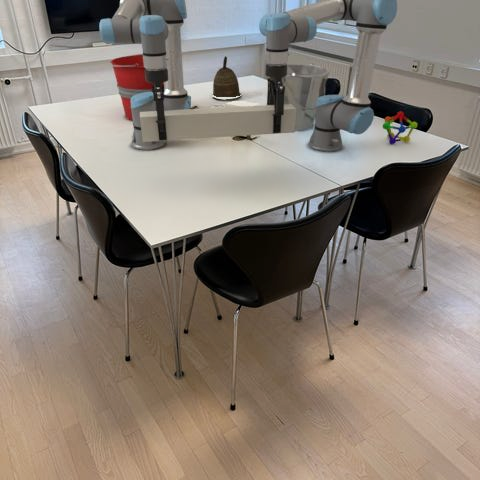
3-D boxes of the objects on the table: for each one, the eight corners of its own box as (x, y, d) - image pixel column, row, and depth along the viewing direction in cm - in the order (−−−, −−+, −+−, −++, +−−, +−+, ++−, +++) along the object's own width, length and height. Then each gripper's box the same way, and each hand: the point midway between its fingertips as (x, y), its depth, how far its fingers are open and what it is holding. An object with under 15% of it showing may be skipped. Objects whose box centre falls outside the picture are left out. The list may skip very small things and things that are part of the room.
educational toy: (377, 146, 209) (379, 114, 202) (384, 138, 219) (386, 107, 211) (411, 149, 202) (415, 116, 195) (417, 141, 212) (420, 109, 204)
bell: (227, 105, 294) (202, 96, 282) (238, 66, 289) (213, 55, 277) (243, 108, 280) (217, 98, 268) (255, 66, 275) (229, 55, 263)
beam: (142, 142, 154) (139, 117, 149) (142, 136, 159) (139, 111, 154) (294, 132, 163) (296, 108, 158) (289, 127, 168) (291, 103, 163)
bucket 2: (296, 138, 215) (301, 78, 201) (255, 124, 234) (256, 68, 219) (335, 125, 232) (342, 70, 217) (294, 113, 251) (297, 61, 236)
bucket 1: (124, 106, 262) (117, 51, 246) (183, 106, 262) (180, 52, 246) (108, 124, 233) (99, 63, 217) (174, 124, 232) (170, 64, 216)
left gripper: (169, 74, 138) (175, 145, 150) (165, 62, 153) (171, 127, 166) (144, 75, 136) (152, 147, 149) (143, 62, 152) (151, 128, 165)
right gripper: (295, 69, 144) (291, 137, 157) (279, 58, 160) (276, 121, 172) (273, 70, 143) (271, 139, 155) (259, 59, 159) (258, 122, 171)
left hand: (162, 136), depth 157 cm, fingers closed on beam, 6 cm apart
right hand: (274, 129), depth 164 cm, fingers closed on beam, 6 cm apart
